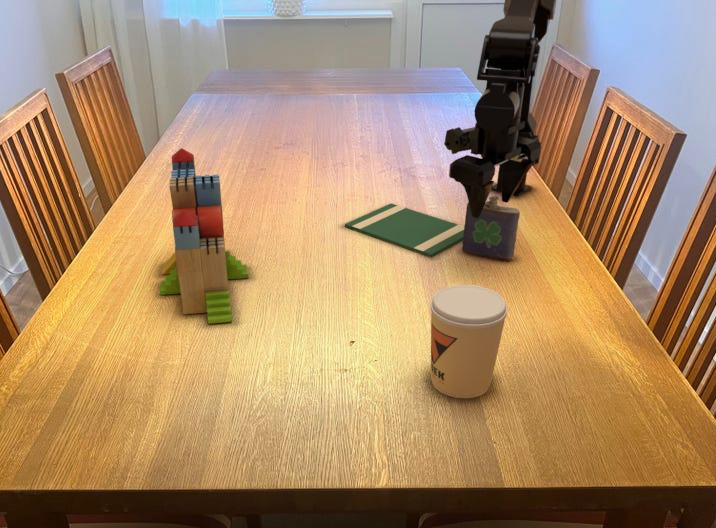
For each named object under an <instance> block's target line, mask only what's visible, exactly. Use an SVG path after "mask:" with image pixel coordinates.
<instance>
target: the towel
mask: <svg viewBox="0 0 716 528" xmlns="http://www.w3.org/2000/svg"><path fill="white" fill-rule="evenodd" d="M464 226H465V225H462V224H458V223H455V222H452V221H448V220H445V219H442V218H439V217H436V216H433V215H430V214H426V213H423V212H420V211H416V210H414V209H410V208H407V207H405V206H402V205H400V204H394V203H389V204H387V205H384V206H381V207H380V208H377V209H375V210H373V211H371V212H369V213H367V214H366V213H365V214H363V215H362V216H360V217H357V218H355V219H353V220H351V221H348V222H346V223H344V228H347V229H350V230H353V231H355V232H359V233H361V234H363V235H367V236H369V237H371V238H372V237H373V238H375V239H378V240H381V241H383V242H387V243H389V244H392V245H394V246H398V247H400V248H403V249H406V250H409V251H412V252H414V253H417V254H420V255H422V256H426V257H429V258H433V257H435V256H436V255H438V254H440V253H442V252H444V251H446V250H448V249H449V248H451V247H453V246H455V245H456V244H458V243H460V242H463V234H464Z"/></svg>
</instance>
